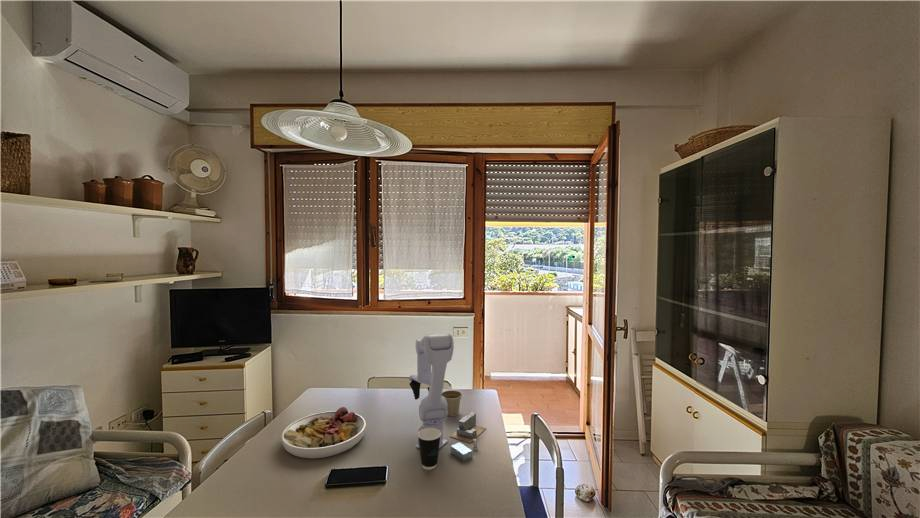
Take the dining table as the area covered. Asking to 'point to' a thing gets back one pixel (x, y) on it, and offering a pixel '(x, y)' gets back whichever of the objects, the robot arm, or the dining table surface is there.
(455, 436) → the plate
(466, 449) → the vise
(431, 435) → the dixie cup
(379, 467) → the dining table surface
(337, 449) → the bowl
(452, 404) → the flower pot
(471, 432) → the uneven u-shaped block
